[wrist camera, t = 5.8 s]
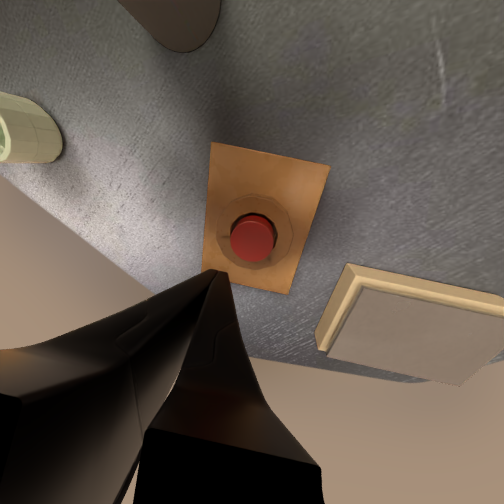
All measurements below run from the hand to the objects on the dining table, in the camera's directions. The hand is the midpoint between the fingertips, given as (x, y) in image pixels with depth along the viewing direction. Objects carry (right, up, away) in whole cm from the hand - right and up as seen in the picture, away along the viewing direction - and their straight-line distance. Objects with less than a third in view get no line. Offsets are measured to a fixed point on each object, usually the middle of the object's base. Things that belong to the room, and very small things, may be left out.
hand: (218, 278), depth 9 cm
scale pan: (+17, -7, +10) cm, 21 cm away
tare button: (+2, +3, +7) cm, 7 cm away
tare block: (+2, +4, +9) cm, 10 cm away
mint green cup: (-17, +12, +8) cm, 22 cm away
